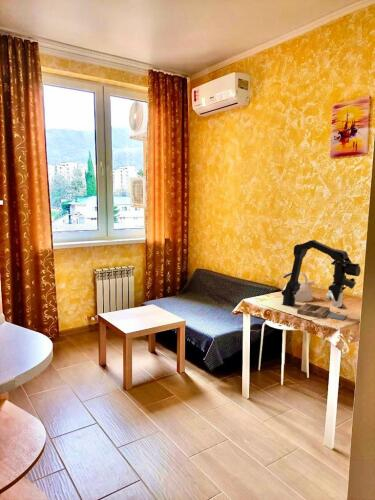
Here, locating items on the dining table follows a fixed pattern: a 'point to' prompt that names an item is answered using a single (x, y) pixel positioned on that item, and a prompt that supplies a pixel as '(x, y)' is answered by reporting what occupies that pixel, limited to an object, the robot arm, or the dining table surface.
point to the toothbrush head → (330, 296)
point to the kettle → (303, 290)
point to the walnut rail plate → (307, 311)
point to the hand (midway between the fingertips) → (337, 300)
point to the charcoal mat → (336, 316)
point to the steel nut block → (339, 302)
